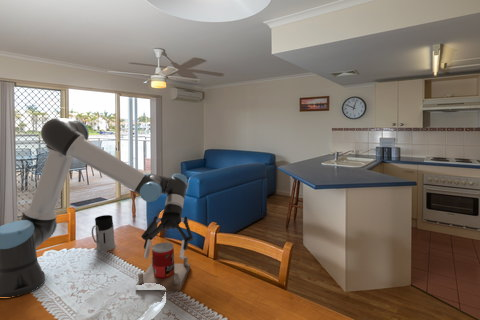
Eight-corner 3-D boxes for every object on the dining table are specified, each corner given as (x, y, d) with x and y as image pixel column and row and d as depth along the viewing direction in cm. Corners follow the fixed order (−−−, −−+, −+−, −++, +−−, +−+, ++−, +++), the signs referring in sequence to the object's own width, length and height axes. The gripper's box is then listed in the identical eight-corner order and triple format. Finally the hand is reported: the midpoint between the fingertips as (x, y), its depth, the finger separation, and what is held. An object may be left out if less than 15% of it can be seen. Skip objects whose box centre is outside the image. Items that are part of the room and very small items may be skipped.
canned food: (169, 280, 102) (167, 251, 101) (149, 278, 104) (147, 249, 102) (178, 269, 109) (177, 242, 108) (159, 267, 111) (158, 241, 110)
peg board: (135, 290, 99) (134, 276, 99) (152, 267, 115) (151, 255, 114) (179, 291, 98) (179, 276, 98) (190, 268, 114) (189, 255, 114)
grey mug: (119, 243, 139) (117, 214, 138) (103, 256, 125) (101, 224, 124) (102, 243, 140) (100, 214, 138) (84, 256, 126) (82, 224, 124)
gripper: (204, 211, 120) (197, 261, 107) (147, 211, 121) (134, 260, 108) (201, 203, 114) (194, 255, 101) (141, 202, 115) (127, 253, 102)
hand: (163, 257), depth 105 cm, fingers open, 13 cm apart
